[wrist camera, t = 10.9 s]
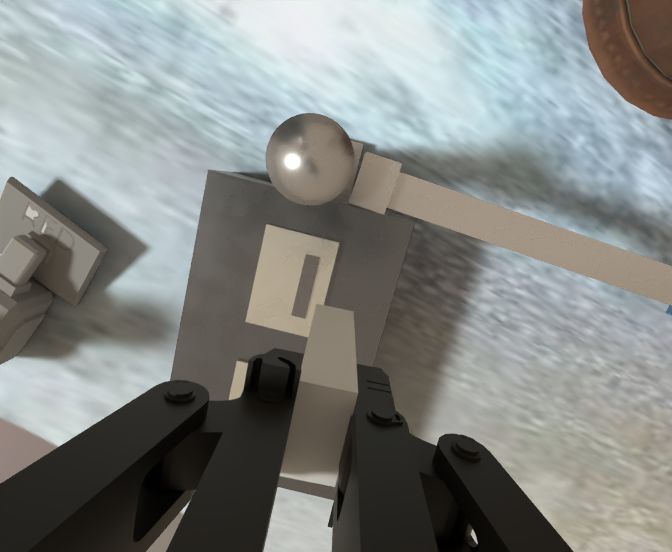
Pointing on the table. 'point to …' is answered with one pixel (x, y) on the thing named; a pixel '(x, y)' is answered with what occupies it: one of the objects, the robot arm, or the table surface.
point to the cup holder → (634, 49)
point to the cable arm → (507, 229)
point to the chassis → (280, 282)
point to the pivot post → (312, 160)
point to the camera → (38, 263)
